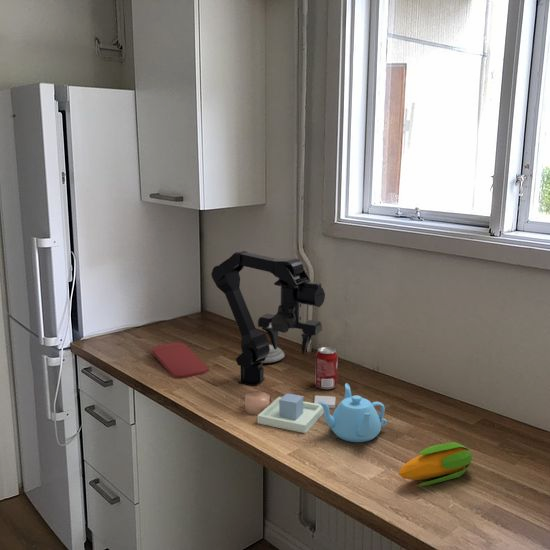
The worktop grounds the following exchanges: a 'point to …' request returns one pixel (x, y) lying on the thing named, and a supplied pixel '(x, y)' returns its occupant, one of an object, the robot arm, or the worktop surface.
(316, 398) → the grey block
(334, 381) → the soda can
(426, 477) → the corn
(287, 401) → the blue block
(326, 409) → the teapot
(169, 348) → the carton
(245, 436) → the worktop surface
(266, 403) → the pink rounded piece
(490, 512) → the worktop surface
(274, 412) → the tray
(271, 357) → the flying saucer
